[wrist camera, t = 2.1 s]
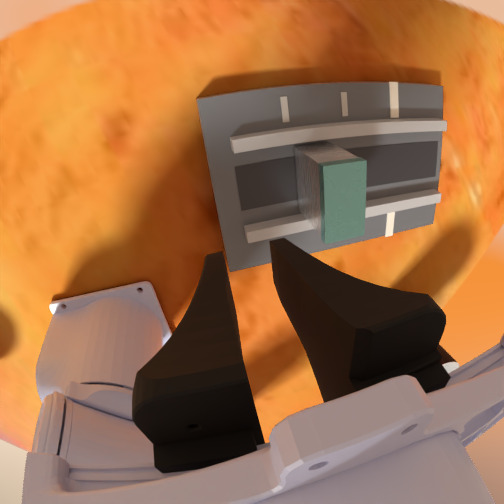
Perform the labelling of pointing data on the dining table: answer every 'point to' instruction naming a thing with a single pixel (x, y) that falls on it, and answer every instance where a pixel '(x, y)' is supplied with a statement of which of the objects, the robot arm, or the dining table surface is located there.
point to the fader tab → (331, 190)
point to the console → (310, 132)
